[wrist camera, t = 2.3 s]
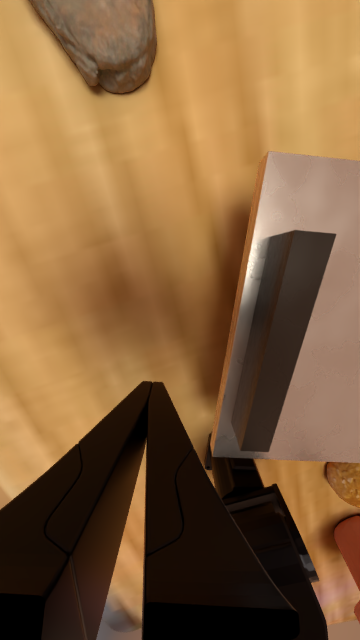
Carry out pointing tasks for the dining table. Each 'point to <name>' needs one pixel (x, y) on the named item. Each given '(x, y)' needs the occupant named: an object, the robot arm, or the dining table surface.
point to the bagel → (345, 481)
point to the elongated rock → (105, 38)
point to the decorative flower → (350, 549)
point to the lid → (296, 318)
